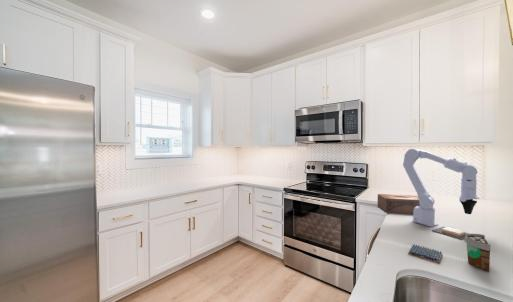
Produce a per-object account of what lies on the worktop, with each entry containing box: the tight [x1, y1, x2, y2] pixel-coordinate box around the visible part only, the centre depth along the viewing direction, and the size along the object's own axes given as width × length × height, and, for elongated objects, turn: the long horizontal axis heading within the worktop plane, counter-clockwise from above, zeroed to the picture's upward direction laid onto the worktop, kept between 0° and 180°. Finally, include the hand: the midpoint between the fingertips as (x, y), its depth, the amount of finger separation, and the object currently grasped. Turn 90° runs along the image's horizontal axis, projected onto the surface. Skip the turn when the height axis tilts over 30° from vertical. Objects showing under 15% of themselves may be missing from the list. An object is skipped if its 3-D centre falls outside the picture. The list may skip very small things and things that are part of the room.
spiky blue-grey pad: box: [407, 243, 444, 264], centre depth 89 cm, size 10×11×2 cm
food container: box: [463, 233, 492, 273], centre depth 82 cm, size 12×6×10 cm, turn 141°
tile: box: [442, 226, 466, 237], centre depth 110 cm, size 7×2×6 cm
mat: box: [431, 226, 470, 241], centre depth 112 cm, size 12×12×1 cm
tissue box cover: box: [377, 193, 420, 215], centre depth 152 cm, size 26×14×10 cm, turn 80°
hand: (468, 213), depth 114 cm, fingers closed
